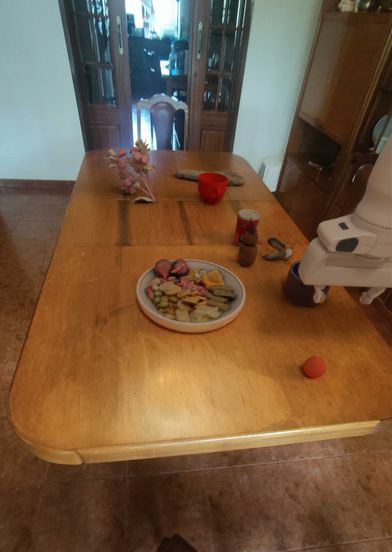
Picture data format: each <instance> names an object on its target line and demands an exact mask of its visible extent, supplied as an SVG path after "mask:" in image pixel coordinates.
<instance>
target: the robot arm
mask: <svg viewBox="0 0 392 552" xmlns="http://www.w3.org/2000/svg"><path fill="white" fill-rule="evenodd" d="M366 182H367V183H366V189H365V193H364V194H363V197H362V199H361V200H360V202H358V204H357V205H356V207H355V209H354V211H353V213H350V214H347V215H344V216H339V217H337V218H332V219H328V220H324V221H322V222H320V223H319V224H318V226H317V228H316V234H317V237H315V238H314V239H312V240H311V241H310V243H309V244H308V245H307V248H306V249H305V251H304V254H303V256H302V257H301V260H300V261H301V263H300V265H299V269H298V273H299V276H300V278H301V280H302V281H303V283H304V284H305V285H314V288H315V291H316V292H315V294H314V297H313V299H314V302H315V303H323V304H324V303H325V301H326V299H327V297H326V295H325V294H324V292H323V291H321V289H324V288H325V286H326V285H328V286H331V287H332V286H333V287H357V288H359V287H360V288H361V287H362V288H370V289H368V290H367V291H364V292H363V291H362V293H361V296H360V297H359V298H358V299H359V302H360V304H361V305H371V303H372V302H373V300H374V299H375V298H377V297H378V296H380V295H381V294H383V293H384V292H385V291H386V289H387V288H388V289H390V288H391V289H392V132H391V133H390V134H389V137H388V138H387V140H386V141H385V143H384V145H383V147H382V149H381V151H380V152H379V155H378V157H377V159H376V160H375V163H374V166H373V168H372V170H371V172H370V174H369V176H368V179H367V181H366ZM325 298H326V299H325ZM324 300H325V301H324Z"/></svg>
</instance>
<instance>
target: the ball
mask: <svg viewBox="0 0 392 552" xmlns="http://www.w3.org/2000/svg"><path fill="white" fill-rule="evenodd" d="M302 368H303V371H304V373H305V375H306V376H307V377H309V378H312V379H319V378H321V377H323V376H324V375H325V373H326V371H327V363H326V362H325V360H324V359H323V358H321V357H320V356H316V355H315V356H314V355H313V356H309V357H308V358H306V359H305V361H304V362H303V367H302Z"/></svg>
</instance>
